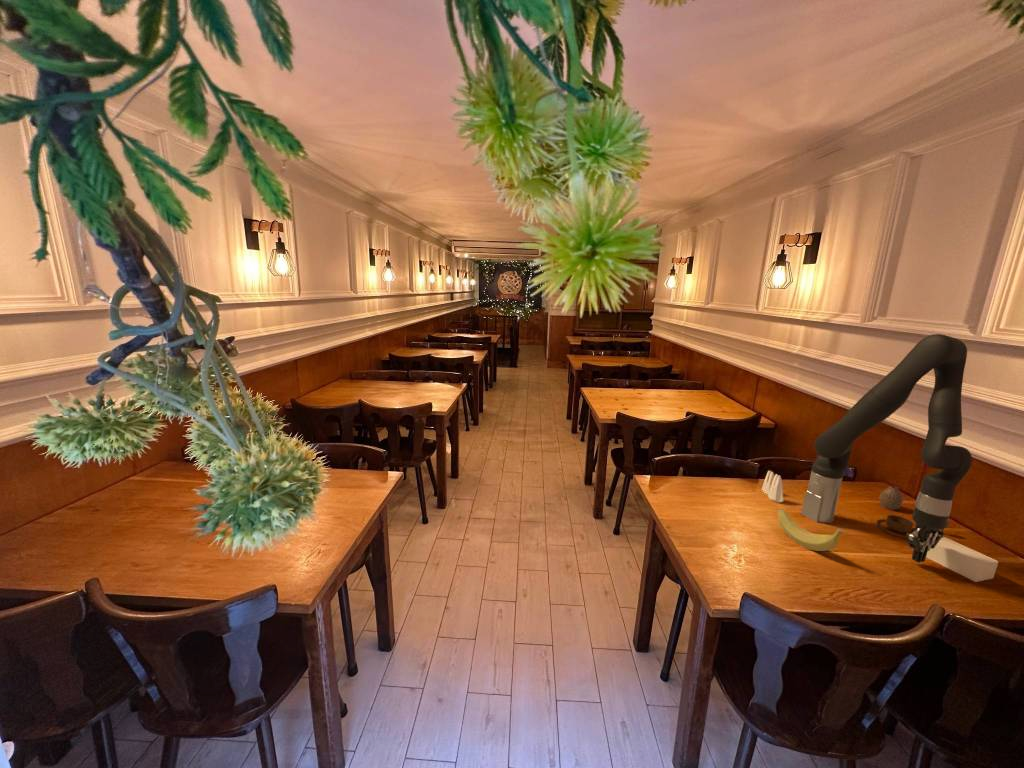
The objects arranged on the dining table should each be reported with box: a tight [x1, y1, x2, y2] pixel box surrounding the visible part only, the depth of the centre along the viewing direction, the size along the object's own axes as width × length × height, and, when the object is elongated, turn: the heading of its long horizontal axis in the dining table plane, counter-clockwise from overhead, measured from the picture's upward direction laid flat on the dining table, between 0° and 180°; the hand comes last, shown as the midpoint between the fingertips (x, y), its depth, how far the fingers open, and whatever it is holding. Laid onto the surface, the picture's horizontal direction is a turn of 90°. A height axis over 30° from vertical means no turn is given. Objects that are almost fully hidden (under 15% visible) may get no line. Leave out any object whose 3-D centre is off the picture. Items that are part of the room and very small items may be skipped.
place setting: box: [876, 514, 950, 539], centre depth 151 cm, size 18×20×6 cm
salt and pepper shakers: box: [761, 470, 785, 503], centre depth 174 cm, size 12×4×11 cm, turn 170°
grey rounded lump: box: [878, 485, 904, 511], centre depth 170 cm, size 7×7×9 cm
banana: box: [777, 507, 845, 552], centre depth 140 cm, size 14×6×20 cm
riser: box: [926, 536, 999, 583], centre depth 133 cm, size 8×13×6 cm, turn 16°
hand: (918, 560), depth 133 cm, fingers closed
